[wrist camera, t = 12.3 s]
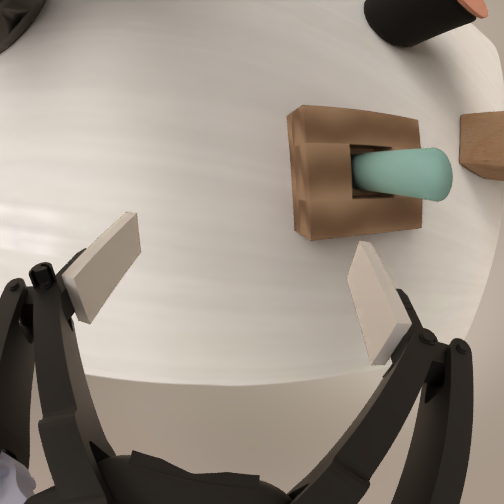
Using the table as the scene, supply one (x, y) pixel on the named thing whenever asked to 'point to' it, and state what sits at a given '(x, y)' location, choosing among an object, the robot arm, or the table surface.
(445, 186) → the pin
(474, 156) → the wooden block
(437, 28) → the coffee jar
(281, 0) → the table surface
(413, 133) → the socket block
